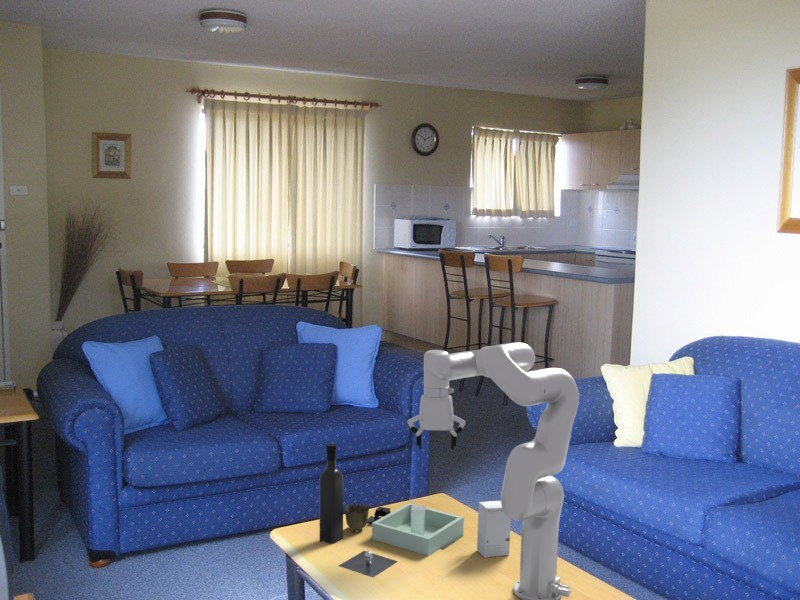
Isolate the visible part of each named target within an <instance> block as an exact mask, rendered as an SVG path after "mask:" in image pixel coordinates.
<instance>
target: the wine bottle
mask: <svg viewBox="0 0 800 600" xmlns="http://www.w3.org/2000/svg"><path fill="white" fill-rule="evenodd" d="M337 447H338V446H337V444H336V443H328V444H326V468H325V469H324V470H323V471H322V472H321V475H320V477H319V529H318V530H319V536H318V537H319V539H318V540H319V543H321V542H325V543H328V544H336V543H339V542H340V541H341V540H343V539H344V476H343V474H342V472H341V471H340V469H338V468H337V451H338V450H337Z"/></svg>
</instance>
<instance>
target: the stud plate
mask: <svg viewBox="0 0 800 600" xmlns="http://www.w3.org/2000/svg"><path fill="white" fill-rule="evenodd" d="M398 562H399V561H397V560H395V559H391V558H388V557H385V556H382V555H379V554H376V553H373V552H372V551H371V550H367V551H366V550H362V551H361V552H360V553H359V552H358V554H356V555H354V556H352V557H351V558H349V559H347V560H346V561H344V562H342V563H341V564H339V565H338V567H341V568H342V569H347V570H350V571H353V572H355V573H359V574H362V575H364V576H368V577H370V578H375V577H376V576H378V575H380V574H382V573H383V572H384V571H386V570H388V569H389V568H391V567H392V566H394V565H396V564H397V563H398Z"/></svg>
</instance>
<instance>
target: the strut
mask: <svg viewBox="0 0 800 600" xmlns="http://www.w3.org/2000/svg"><path fill="white" fill-rule="evenodd" d="M425 507H426V504H415V505H412V508H411V532H412V533H416V534H419V535H423V536H425Z"/></svg>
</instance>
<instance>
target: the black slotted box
mask: <svg viewBox="0 0 800 600" xmlns="http://www.w3.org/2000/svg"><path fill="white" fill-rule="evenodd" d="M390 513H392V511H391V508H389V507H383V506H378V507H377V508H376V509H375V512H374V514H373V515H374V516H372V515H370V516H368V520H367V524H366V525H372V523H373V522H375V521H377V520H379V519H380V518H382V517H384V516H386V515H388V514H390Z"/></svg>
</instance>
